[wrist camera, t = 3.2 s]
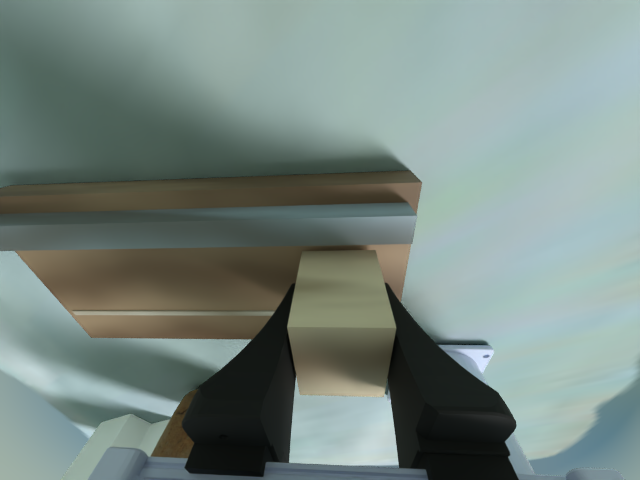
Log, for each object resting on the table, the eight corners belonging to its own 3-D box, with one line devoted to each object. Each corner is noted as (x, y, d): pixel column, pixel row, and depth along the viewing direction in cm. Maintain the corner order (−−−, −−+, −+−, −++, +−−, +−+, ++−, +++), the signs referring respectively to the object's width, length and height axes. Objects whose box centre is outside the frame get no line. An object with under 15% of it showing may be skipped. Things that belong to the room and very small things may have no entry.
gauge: (366, 350, 18) (377, 432, 13) (312, 350, 18) (306, 430, 14) (375, 249, 13) (396, 327, 9) (302, 251, 13) (287, 327, 9)
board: (388, 318, 19) (398, 360, 16) (110, 317, 21) (74, 355, 18) (410, 170, 13) (433, 193, 10) (10, 185, 15) (-73, 209, 12)
